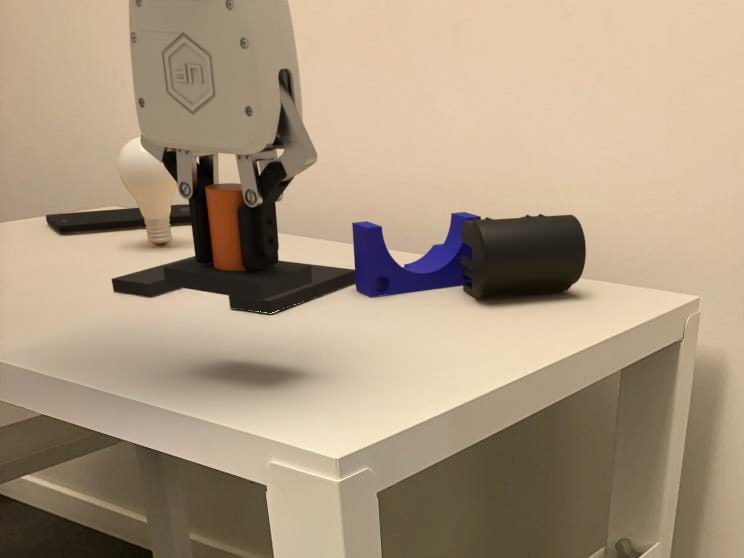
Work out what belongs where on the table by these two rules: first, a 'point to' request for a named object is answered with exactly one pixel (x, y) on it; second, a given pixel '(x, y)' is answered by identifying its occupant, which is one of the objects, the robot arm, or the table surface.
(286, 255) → the table surface
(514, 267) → the end cap
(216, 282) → the small pad
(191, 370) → the table surface
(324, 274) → the big pad
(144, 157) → the lightbulb
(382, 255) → the blue pipe cradle
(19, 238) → the table surface
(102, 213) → the cell phone
